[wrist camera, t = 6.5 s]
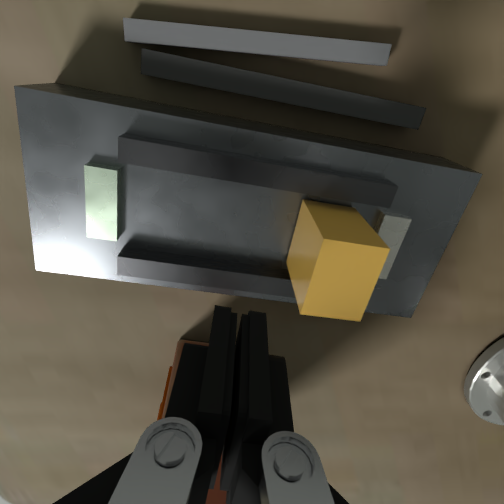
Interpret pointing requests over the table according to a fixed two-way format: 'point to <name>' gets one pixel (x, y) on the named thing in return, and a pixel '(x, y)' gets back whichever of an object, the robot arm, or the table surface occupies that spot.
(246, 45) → the grey square bar
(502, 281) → the table surface
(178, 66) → the dark grey long bar
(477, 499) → the table surface
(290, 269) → the yellow block
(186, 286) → the slider track
